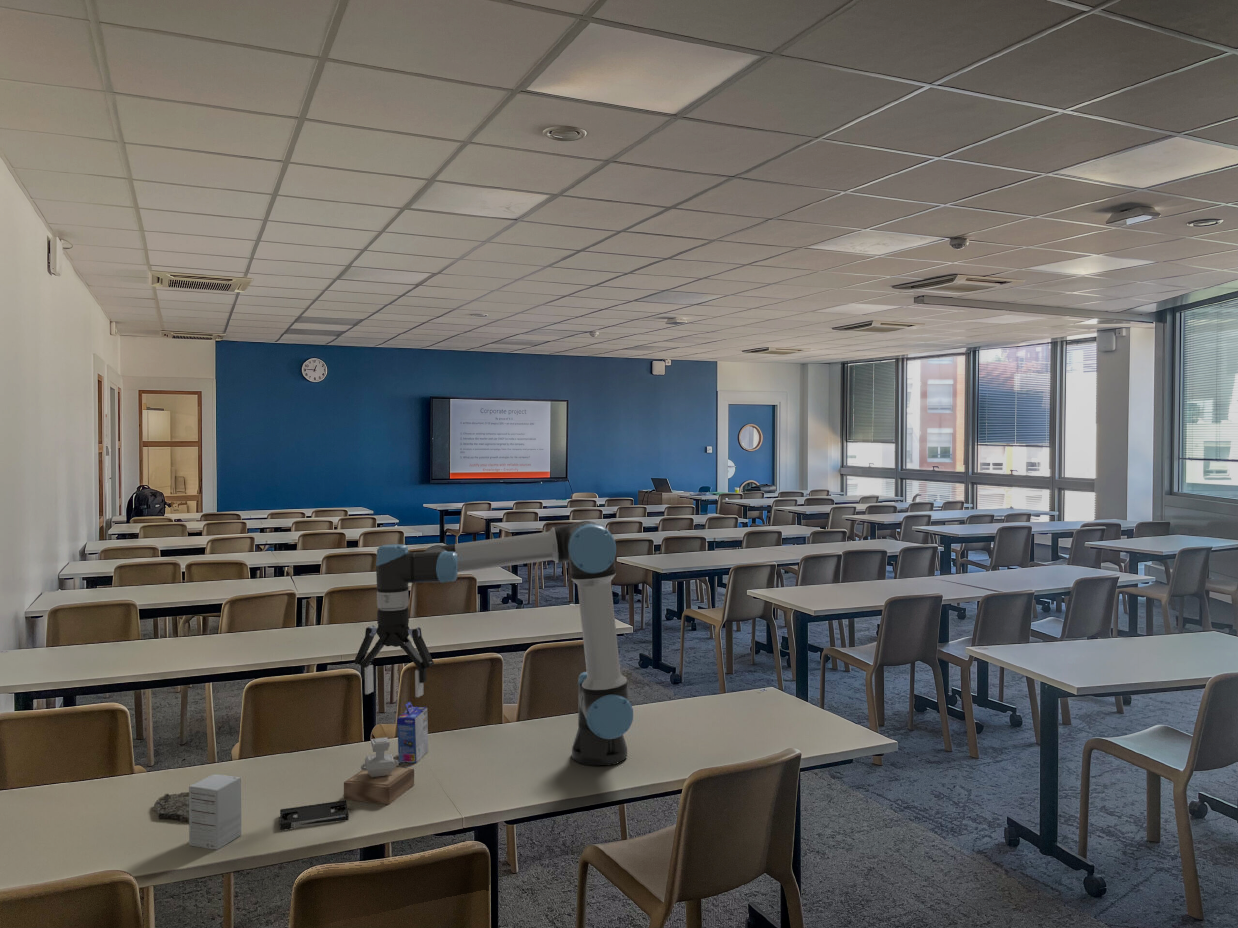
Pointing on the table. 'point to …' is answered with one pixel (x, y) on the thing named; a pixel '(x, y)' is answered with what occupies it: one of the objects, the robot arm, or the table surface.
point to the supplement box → (214, 811)
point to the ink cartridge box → (412, 734)
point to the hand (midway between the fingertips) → (394, 694)
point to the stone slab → (173, 807)
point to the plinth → (379, 786)
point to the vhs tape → (313, 815)
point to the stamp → (380, 759)
